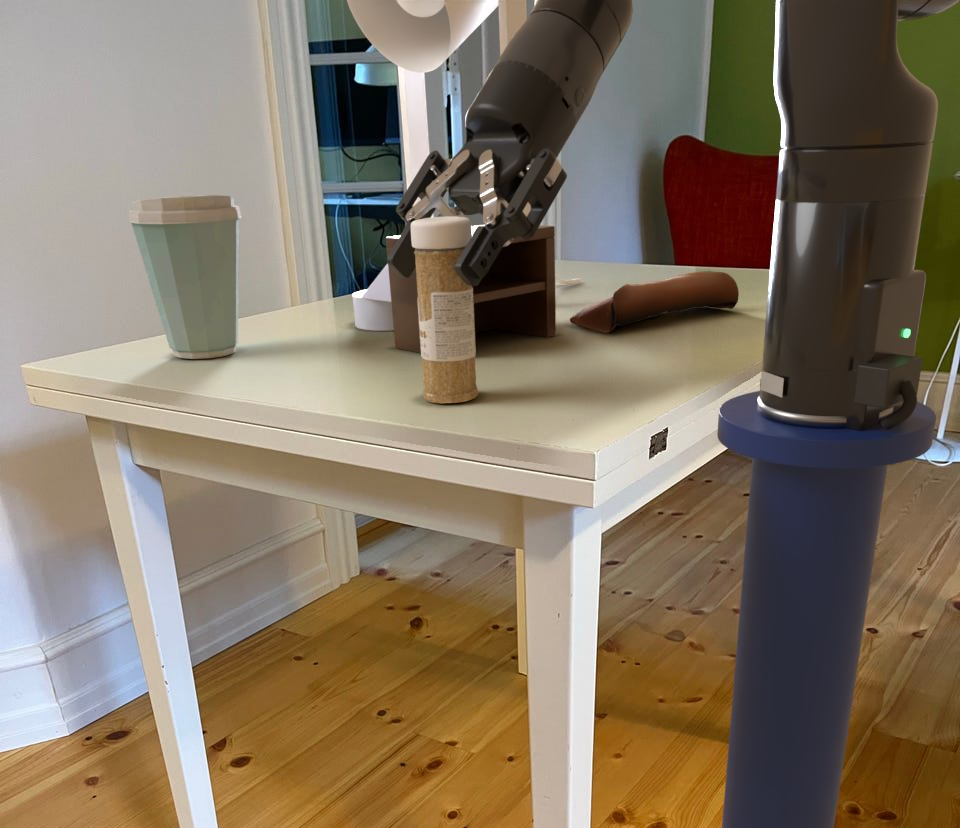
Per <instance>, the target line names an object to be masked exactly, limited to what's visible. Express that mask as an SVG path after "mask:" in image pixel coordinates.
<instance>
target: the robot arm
mask: <svg viewBox="0 0 960 828" xmlns="http://www.w3.org/2000/svg"><path fill="white" fill-rule="evenodd" d="M959 2H960V0H775V27H774V28H775V29H774V55H773V56H774V58H773V90H774V92H773V93H774V98H775V103H776V108H777V111H778V114H779V120H780V124H781V125H780V127H781V129H780V130H781V132H780V149H779V156H778V168H777V169H778V170H777V181H776V191H775V205H774V217H773V227H772V239H771V253H770V262H769V263H770V264H769V275H768V287H767V288H768V289H767V298H766V299H767V300H766V311H765V322H764V323H765V324H764V335H763V346H762V363H761V373H760V375H761V376H760V381H759V387H760V388H759V391H760V395H759V396H758V402H757V411H758V413H759V414H760V415H762V416H763V417H765V418H767V419H770V420H772V421H776V422H779V423H783V424H788V425H793V426H800V427H809V428H824V429H851V430H856V431H864V430H866V429H869V428H871V427H873V426H876V425H878V424H881V425H882V426H883V427H884V428H885V429H887V430H890V429H891V428H893V427H894V426H896V425H898V424H900V423H902V422H903V421H905V420H906V419H908V418H909V417H910V416H911V414H912V413H913V411H914V410H915V407H916V404H917V402H918V391H919V385H920V378H921V374H922V373H921V372H922V367H923V359H924V358H923V357H921V356H915V354H916V353H915V352H916V347H917V339H918V334H919V326H920V321H921V314H922V308H923V301H924V294H925V288H926V287H925V286H926V281H927V273H926V272H925V271H924V270H921V269H915V266H916V259H917V252H918V245H919V239H920V234H921V233H920V232H921V225H922V218H923V212H924V205H925V200H926V199H925V197H926V192H927V184H928V179H929V172H930V165H931V159H932V150H933V145H934V143H933V141H934V138H935V132H936V127H937V126H936V125H937V120H938V111H939V101H938V97H937V95H936V92H934V90H933V89H932V88H931V87H929V86H928V85H926V84H925V83H923V82H922V81H920V80H918V79H917V78H916V77H915V75H913V74H912V73H911V72H910V70H908V68H907V67H906V65H905V63H904V62H903V60H902V57H901V54H900V52H899V48H898V22H902V21H903V22H904V21H905V22H906V21H912V20H913V21H914V20H918V19H923V18H927V17H931V16H934V15H937V14H941V13H942V12H943V13H944V11H946V10H949V9H950V8H952V7H953V6H955V5H957V3H959ZM633 11H634V2H633V0H538V1H537V3H536V4H535V3H534V6H533V7H532V10H531V11H530V13H529V14H528V16H527V19H526V21H525V22H524V24H523V25H522V26H521V28H520V29H519V30H518V31H517V32H516V33H515V35H514V36H513V37H512V39H511V40H510V42H509V43H508V45H507V46H506V48H505V50H504V51H503V53H502V55H501V56H500V55H499V58H498V60H497V61H496V63H495V65H494V66H493V68H492V69H491V71H490V73H489V74H488V76H487V78H486V79H485V81H484V83H483V84H482V86H481V88H480V89H479V91H478V92H477V94H476V96H475V98H474V99H473V102H472V103H471V104H470V106H469V108H468V110H467V112H466V114H465V120H464V121H465V122H464V123H465V124H464V125H465V133H466V134H465V135H466V140H465V143H464V144H463V146H462V147H460V149H459V150H458V151H457V152H456V153H455V154H454V155H453V156H452V158H444V157H443V156H442V154H441V153H440V152H439V151H438V150H433V151H431V152H430V154H429V155H428V157H427V158H426V160H425V162H424V163H423V165H422V166H421V168H420V170H419V171H418V173H417V175H416V176H415V178H414V179H413V181H412V183H411V184H410V186H409V188H408V189H407V188H406V191H405V192H404V194H403V195H402V197H401V198H400V201H399V202H398V204H397V206H396V208H395V213H397V214H398V215H399V217H400V218H401V219H402V220H403V221H404V222H405V226H404V228H403V230H402V231H401V232H400V234H399V236H400V237H399V238H398V240H397V242H396V243H395V245H394V247H393V248H392V250H391V252H390V254H389V256H388V257H387V258H386V262H387V263H388V265H389V266H390V267H391V268H392V269H393V271H394V272H395V273H396V274H397V275H398V276H399V277H403V278H409V277H410V276H411V274H412V273H413V271H414V269H415V268H416V261H415V254H414V251H415V248H414V247H412V242H411V223H412V222H413V221H415V220H419V219H424V218H431V216H432V214H434V213H435V212H436V210H437V211H438V212H439V214H438V215H437V216H436V217H448V216H453V217H466V218H467V217H468V216H473V215H478V214H480V215H482V223H483V225H484V224H485V227H484V226H478V227H477V228H476V230H475V232H474V233H473V235H472V237H471V238H470V240H469V242H468V244H467V245H466V247H465V249H464V250H463V252H462V254H461V255H460V257H459V259H458V260H457V262H456V264H455V271H456V273H457V274H458V275H459V277H460V278H461V279H462V280H463V281H464V282H465V283H466V284H467V285H469V286H477V285H478V284H479V283H480V281H481V280H482V278H483V277H484V276H485V275H486V274H487V272H488V271H489V269H490V266H491V265H492V264H493V262H494V260H495V259H496V257H497V255H498V254H499V252H500V250H501V248H502V247H503V246H504V247H505V246H508V245H509V244H511V243H512V241H513V240H514V238H516V237H521V238H522V240H524V241H526V240H529V239H531V238H532V237H533V236H534V234H535V233H536V231H537V229H538V227H539V226H541V223H542V222H543V221H544V218H545V216H546V215H547V213H548V211H549V210H550V208H551V206H552V205H553V203H554V201H555V199H556V197H557V196H558V194H559V192H560V191H561V189H562V187H563V185H564V184H565V182H566V180H567V177H568V174H567V172H566V171H565V170H564V168H563V166H562V164H561V163H560V161H559V160H558V156H559V155H560V152H561V151H562V150H563V148H564V147H565V144H566V143H567V141H568V139H569V138H570V136H571V135H572V133H573V131H574V129H575V128H576V126H577V124H579V123H578V122H579V121H580V119H581V118H582V116H583V114H584V112H585V111H586V109H587V107H588V106H589V104H590V102H591V101H592V97H593V95H594V92H595V90H596V88H597V86H598V84H599V81H600V79H601V77H602V75H603V73H604V72H605V71H606V68H607V67H608V65H609V63H610V62H611V60H612V59H613V56H614V55H615V54H616V52H617V50H618V48H619V46H621V45H620V44H621V43H622V41H623V40H624V38H625V36H626V34H627V31H628V30H629V27H630V25H631V22H632V18H633ZM446 193H448V196H449V199H450V200H451V201H452V202H453V204H454V205H455V206H450V204H448V203H447V202H446V200H445V199H444V196H445V195H446ZM418 197H419V198H420V199H421V201H419V202H418V203H417V204H416V205H415V206H414V207H413V204H414V203H415V201H416V200H417V198H418ZM527 203H529V204H530V206H531V210H530V212H529V214H528V216H527V217H526V216H525V214H524V213H523V212H522V211H523V210H524V208H525V206H526V204H527ZM387 263H386V264H387Z"/></svg>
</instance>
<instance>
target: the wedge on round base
mask: <svg viewBox="0 0 960 828" xmlns="http://www.w3.org/2000/svg"><path fill="white" fill-rule="evenodd" d="M352 305H353V315H354V326H355V328H357V329H359V330H365V331H377V332H382V331H384V332H385V331H387V332H388V331H394V328H393V316H392V305H391V293H390V281H389V269H388V263H386V265H384V266H383V268H382V270H381V271H380V272H379V273H378V275H377V276H376V277H375V278H374V280H373V281H372V282H371V284H370V285H369V286H368V287H367V289H361V290H359V291H355V292H353V293H352Z"/></svg>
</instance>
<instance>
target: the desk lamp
mask: <svg viewBox="0 0 960 828" xmlns="http://www.w3.org/2000/svg"><path fill="white" fill-rule="evenodd" d="M537 1H538V0H534V5H535V4H536V3H537ZM346 2H347V5H348V7H349V11H350V12H351V15H352V17H353V19H354V20H355V22H356V24H357V25H358V28H359V29H360V30H361V32H362V34H363V35H364V36H365V38H366V39H367V41H369V43H370V44H371V45H372V46H373V47H374V48H375V49H376V50H377V51H378V52H379V53H380V54H381V55H382V56H383V57H384V58H385V59H387V60H388V61H390V62H391V63H392V64H394V65H396V66H397V74H398V75H397V76H398V88H399V89H398V90H399V101H400V103H399V104H400V115H401V128H402V129H401V130H402V140H403V141H402V142H403V143H402V144H403V154H404V168H405V180H406V181H405V182H406V190H407V189H408V188H409V186H410V184H411V183H412V181H413V179H414V178H415V176H416V175H417V173H418V171H419V170H420V168H421V166H422V165H423V163H424V162H425V160H426V158H427V157H428V155H429V154H430V153H431V152H430V138H429V124H428V123H429V121H428V109H427V107H428V106H427V93H426V91H427V90H426V78H425V77H426V75H425V74H426V73H430V72H432V71H435V70H437V69H438V68H439V67H440V66H441V65H443V64H444V63H445V61H446V60H448V59H449V58H450V56H451V55H452V54H453V53H455V52H456V50H457V49H458V48H459V47H460V46H461V45H462V44H463V43H464V42H465V41H466V40H467V39H468V38H469V36H471V35H472V34H473V32H474V31H475V30H477V28H478V27H480V25H481V24H482V23H483V22H484V21H485V20H486V19H487V18H488V17H489V16H490V15H491V14H492V13H493V12H494V11H495V10H496V9H497V8H498V28H499V29H498V30H499V57H500V56H501V55H502V53H503V51H504V50H505V48H506V46H507V45H508V43H509V42H510V40H511V39H512V37H513V36H514V35H515V33H516V32H517V31H518V30H519V29H520V28H521V26H522V25H523V24H524V22H525V21H526V19H527V18H528V16H527V15H528V14H527V13H528V12H527V10H528V9H527V0H346ZM419 201H421V199H420V198H419V197H418V198H417V200H416V201H415V203H414V204H413V207H414V206H415V205H416V204H417V203H418V202H419ZM530 210H531V206H530V204H529V203H527V204H526V206H525V208H524V210H523V211H522V212H523V213H524V214H525V216H526V217H527V216H528V214H529V212H530ZM434 215H435V214H434V213H433V214H432V216H431V217H435V216H434ZM581 281H582V280H581V277H577V278H573V279H572V278H571V279H561V278H557V277H555V284H557V285H560V286H561V285H563V286H570V285H575V284H580V283H581Z"/></svg>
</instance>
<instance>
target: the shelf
mask: <svg viewBox="0 0 960 828" xmlns="http://www.w3.org/2000/svg"><path fill="white" fill-rule="evenodd" d="M478 226H484V227H485V224H484V223H483V224H478V225H477V224H476V225H471V230H472V235H473V233H474V232H475V230H476V228H477V227H478ZM555 229H556V228H555V226H554V225H540V226H539V227H538V229H537V231H536V233H535V234H534V236H533V237H532V238H531V239H529V240H526V241H524V240H522V238H521V237H516V238H514V240H513V241H512V243H511V244H509V245H508V246H505V247H504V246H503V247H502V248H501V250H500V252H499V254H498V255H497V257H496V259H495V260H494V262H493V264H492V265H491V266H490V269H489V271H488V272H487V274H486V275H485V276H484V277H483V278H482V280H481V281H480V283H479V284H478V285H477V286H472V287H473V302H474V324H475V334H476V333H481V332H484V331H489V330H500V331H504V332H505V331H507V332H512V333H518V334H519V333H520V334H526V335H532V336H537V337H538V336H540V337H546V338H549V337H554V336H556V335H557V332H556V331H557V329H556V328H557V326H556V325H557V324H556V320H557V319H556V318H557V317H556V283H555V278H556V246H555V245H556V240H555V237H556V235H555V233H556V230H555ZM399 237H400V235H393V236H386V237H385V243H386V244H385V246H386V255H387V258H388V256H389V254H390V252H391V250H392V248H393V247H394V245H395V243H396V242H397V240H398V238H399ZM388 269H389V281H390V293H391V305H392V316H393V328H394V330H393V339H394V348H395V349H399V350H405V351H409V352H414V353H419V354H421V345H420V330H419V316H418V291H417V274H416V268H415V269H414V271H413V273H412V274H411V276H410V277H409V278H403V277H399V276H398V275H397V274H396V273H395V272H394V271H393V269H392V268H391V267H390V266H389V265H388Z"/></svg>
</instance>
